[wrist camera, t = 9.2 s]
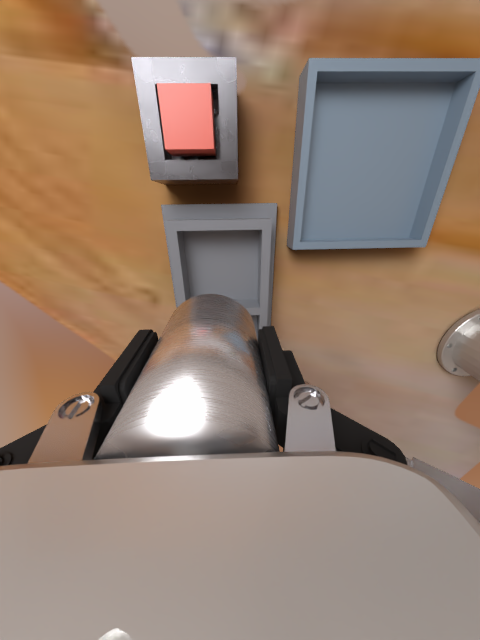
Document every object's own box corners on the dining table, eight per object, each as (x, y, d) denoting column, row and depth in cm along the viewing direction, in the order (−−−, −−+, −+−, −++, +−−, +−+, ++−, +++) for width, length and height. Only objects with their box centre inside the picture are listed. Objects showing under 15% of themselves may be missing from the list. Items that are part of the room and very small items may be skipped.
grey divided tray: (275, 203, 27) (282, 202, 23) (267, 367, 37) (271, 384, 34) (163, 204, 26) (152, 204, 23) (187, 370, 37) (183, 387, 33)
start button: (213, 100, 20) (210, 83, 17) (216, 156, 21) (214, 148, 19) (166, 100, 20) (156, 83, 17) (173, 156, 21) (165, 149, 19)
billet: (256, 292, 12) (292, 415, 5) (254, 367, 14) (278, 527, 7) (161, 295, 12) (59, 424, 5) (175, 370, 14) (118, 535, 7)
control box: (235, 87, 22) (236, 57, 18) (236, 183, 26) (238, 178, 21) (151, 87, 22) (131, 57, 17) (165, 184, 25) (151, 180, 21)
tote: (458, 76, 22) (489, 58, 20) (407, 243, 29) (425, 247, 26) (299, 76, 22) (309, 58, 19) (286, 245, 29) (292, 249, 26)
